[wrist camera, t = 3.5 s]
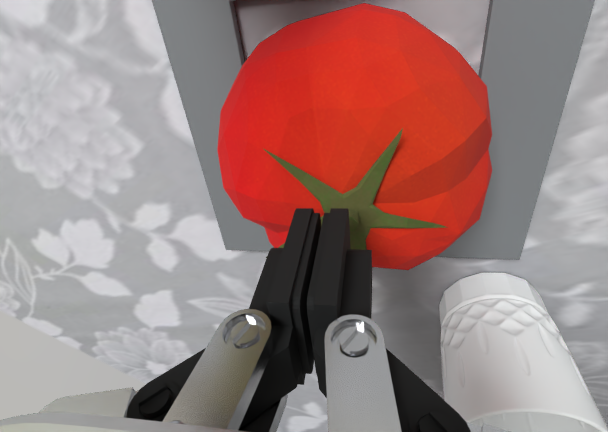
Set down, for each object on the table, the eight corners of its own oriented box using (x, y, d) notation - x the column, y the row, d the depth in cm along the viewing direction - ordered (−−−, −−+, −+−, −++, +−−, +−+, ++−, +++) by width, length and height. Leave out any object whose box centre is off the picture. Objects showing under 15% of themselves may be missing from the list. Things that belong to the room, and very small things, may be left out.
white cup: (571, 311, 27) (647, 467, 19) (472, 349, 31) (501, 491, 23) (506, 246, 25) (562, 393, 17) (408, 297, 29) (417, 433, 21)
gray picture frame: (638, -178, 13) (647, -181, 13) (516, 253, 25) (519, 259, 24) (131, -92, 17) (124, -92, 17) (228, 244, 29) (226, 249, 29)
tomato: (233, 153, 24) (155, 265, 16) (292, -54, 17) (206, -42, 9) (403, 224, 25) (411, 363, 17) (524, 54, 18) (635, 152, 10)
